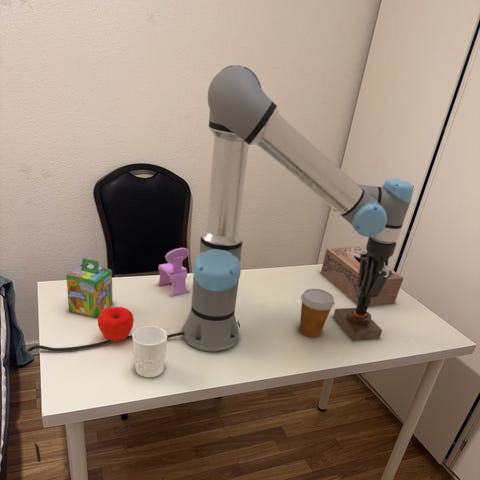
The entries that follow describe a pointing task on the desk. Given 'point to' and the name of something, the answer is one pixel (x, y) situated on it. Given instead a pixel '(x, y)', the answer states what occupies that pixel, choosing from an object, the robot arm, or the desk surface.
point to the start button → (359, 315)
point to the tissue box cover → (356, 275)
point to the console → (357, 325)
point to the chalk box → (89, 288)
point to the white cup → (149, 350)
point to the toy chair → (174, 271)
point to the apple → (115, 323)
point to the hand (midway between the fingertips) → (360, 312)
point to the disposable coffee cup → (314, 311)
